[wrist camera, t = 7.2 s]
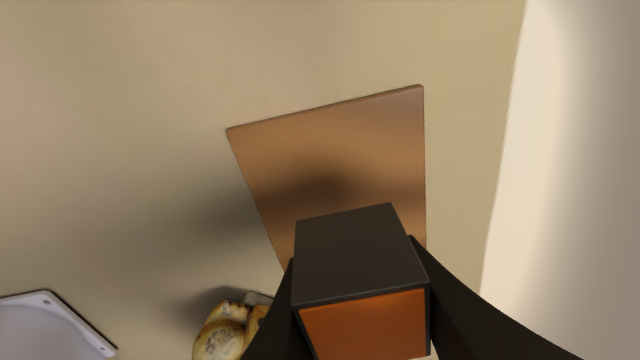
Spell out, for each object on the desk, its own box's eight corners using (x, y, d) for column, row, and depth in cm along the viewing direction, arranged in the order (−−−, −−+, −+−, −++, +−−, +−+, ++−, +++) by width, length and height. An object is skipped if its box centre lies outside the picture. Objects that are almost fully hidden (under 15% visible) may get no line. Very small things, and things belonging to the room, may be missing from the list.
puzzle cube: (397, 267, 14) (432, 358, 10) (316, 282, 14) (319, 376, 10) (391, 200, 12) (432, 283, 8) (295, 220, 12) (289, 309, 8)
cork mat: (423, 243, 20) (426, 249, 20) (285, 269, 21) (285, 275, 20) (419, 83, 14) (424, 85, 14) (227, 128, 15) (224, 131, 14)
